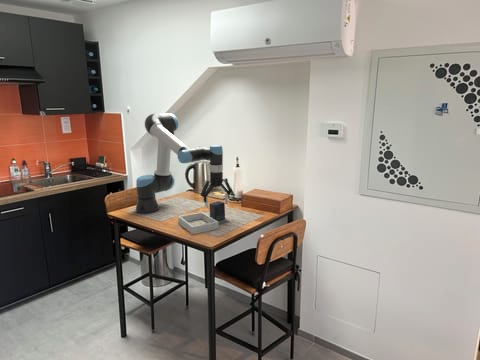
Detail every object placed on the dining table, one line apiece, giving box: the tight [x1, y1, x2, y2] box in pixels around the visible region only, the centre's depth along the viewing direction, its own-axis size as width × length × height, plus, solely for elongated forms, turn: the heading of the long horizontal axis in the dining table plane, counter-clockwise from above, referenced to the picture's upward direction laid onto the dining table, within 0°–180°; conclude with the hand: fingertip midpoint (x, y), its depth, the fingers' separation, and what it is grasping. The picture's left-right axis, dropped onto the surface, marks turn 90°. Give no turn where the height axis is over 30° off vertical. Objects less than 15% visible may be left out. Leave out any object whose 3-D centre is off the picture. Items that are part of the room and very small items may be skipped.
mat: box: [218, 217, 230, 225], centre depth 212 cm, size 12×10×1 cm
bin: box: [177, 211, 220, 235], centre depth 203 cm, size 22×16×4 cm
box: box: [208, 200, 226, 221], centre depth 211 cm, size 8×6×11 cm
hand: (216, 205), depth 211 cm, fingers open, 13 cm apart
